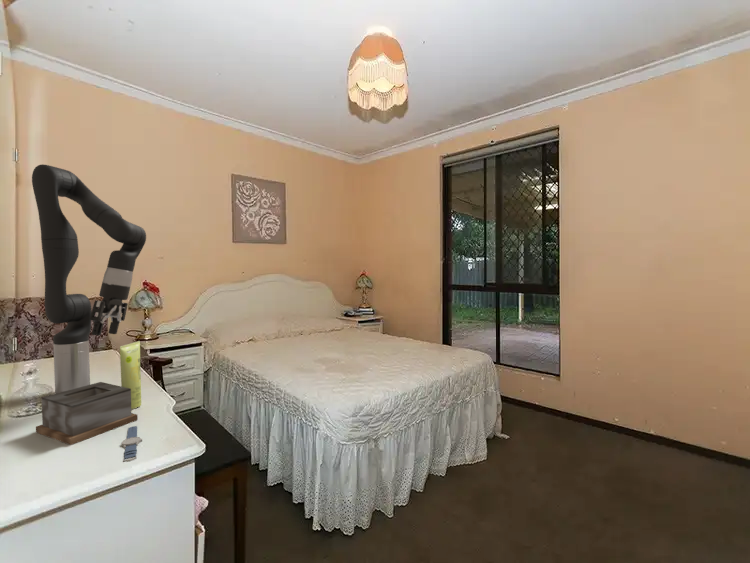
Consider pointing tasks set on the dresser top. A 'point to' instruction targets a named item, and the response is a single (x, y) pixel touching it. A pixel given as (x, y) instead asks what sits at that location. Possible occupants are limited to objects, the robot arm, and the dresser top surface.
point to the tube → (131, 371)
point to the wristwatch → (131, 444)
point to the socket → (85, 412)
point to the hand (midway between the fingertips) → (104, 334)
